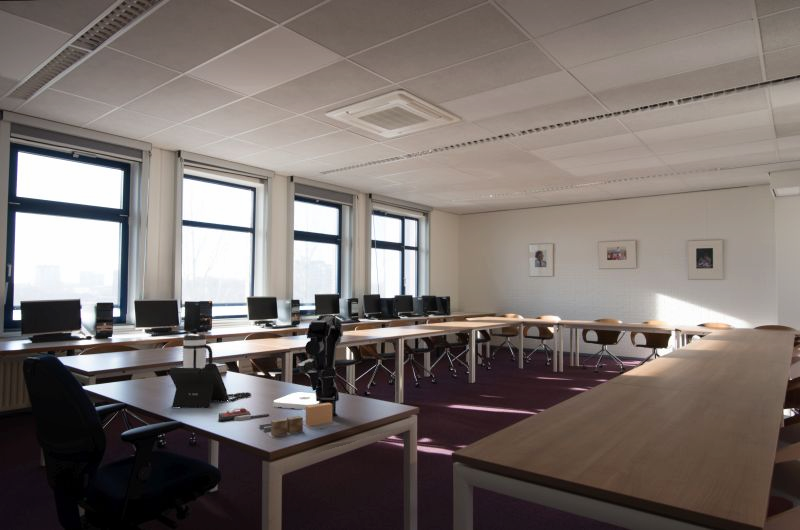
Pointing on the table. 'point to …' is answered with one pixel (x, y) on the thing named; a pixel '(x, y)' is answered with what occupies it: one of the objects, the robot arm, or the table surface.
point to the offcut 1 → (278, 427)
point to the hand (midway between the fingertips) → (319, 392)
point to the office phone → (199, 387)
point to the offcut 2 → (294, 424)
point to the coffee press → (195, 350)
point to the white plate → (296, 400)
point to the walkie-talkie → (237, 415)
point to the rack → (267, 429)
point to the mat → (321, 425)
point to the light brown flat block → (318, 414)
